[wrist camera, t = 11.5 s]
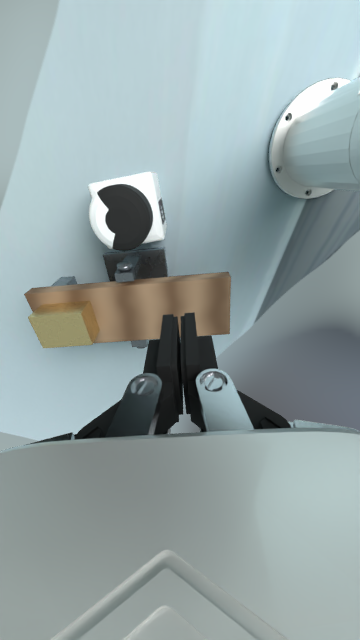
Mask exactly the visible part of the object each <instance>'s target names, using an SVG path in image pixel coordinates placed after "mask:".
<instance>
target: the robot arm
mask: <svg viewBox="0 0 360 640" xmlns="http://www.w3.org/2000/svg"><path fill="white" fill-rule="evenodd" d="M331 86H332V91H331ZM285 116H287V117H288V119H287V121H286V120H285ZM269 166H270V170H271V174H272V176H273V178H274V180H275V182H276V184H277V185H278V186H279V187H280V189H281V190H283V191H284V192H285V193H287V194H288V195H291V196H293V197H297V198H303V199H310V198H317V197H320V196H323V195H326V194H328V193H329V192H331V191H333V190H335V189H337V190H346V191H356V192H360V77H358V78H356V79H354V80H352V81H350V80H348V79H343V78H328V79H325V80H322V81H319V82H317V83H315V84H313V85H311V86H309V87H308V88H306V89H305V90H303V91H302V92H301V93H299V94H298V95H297V96H296V97H295V98H294V99H293V100H292V101H291V102H290V103H289V104H288V106H287V107H286V108H285V110H284V111H283V112H282V114H281V116H280V118H279V120H278V121H277V123H276V126H275V128H274V131H273V133H272V137H271V142H270V146H269ZM276 168H278V169H279V170H278V172H276ZM306 191H307V193H306V194H305V192H306ZM183 388H184V397H185V405H186V413H187V414H191V421H192V422H193V423H195V424H196V425H197V426H198V427H199V428H200V432H196V433H179V434H170V431H171V430H170V428H171V427H172V426H173V425H174V424H175V423H176V422H179V415H180V414H183ZM0 640H360V431H358V430H356V429H352V428H349V427H343V426H335V425H329V424H322V423H315V422H308V421H301V420H294V422H288V421H287V420H286V419H284V418H283V417H282V416H281V415H279V414H277V413H275V412H274V411H272V410H270V409H269V408H267V407H265V406H263V405H262V404H260V403H258V402H257V401H255V400H253V399H252V398H250V397H248V396H246V395H245V394H243V393H241V392H239V391H238V390H236V388H235V386H234V384H233V382H232V380H231V378H230V376H229V375H228V374H227V373H226V372H224V371H222V370H220V369H218V367H217V362H216V356H215V351H214V346H213V341H212V336H211V335H210V336H197V330H196V321H195V312H193V313H184V316H181V343H180V334H179V325H178V317H177V316H176V317H174V315H173V314H167V315H163V317H162V326H161V334H160V339H157V340H149V344H148V350H147V355H146V360H145V366H144V371H143V374H140V375H138V376H136V377H134V378H133V379H132V380H131V381H130V382H129V384H128V386H127V388H126V390H125V393H124V395H123V397H122V399H121V400H120V401H119V402H117V403H116V404H115V405H113V406H112V407H110V408H109V409H108V410H106V411H105V412H104V413H102V414H101V415H100V416H98V417H97V418H95V419H94V420H93V421H91V422H90V423H89V424H87V425H86V426H84V427H83V428H82V429H81V430H80V431H79V432H78V433H77V434H75V435H73V433H72V432H71V433H67V434H64V435H60V436H56V437H53V438H49V439H45V440H41V441H38V442H34V443H30V444H26V445H23V446H17V447H12V448H9V449H5V450H2V451H0Z"/></svg>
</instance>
